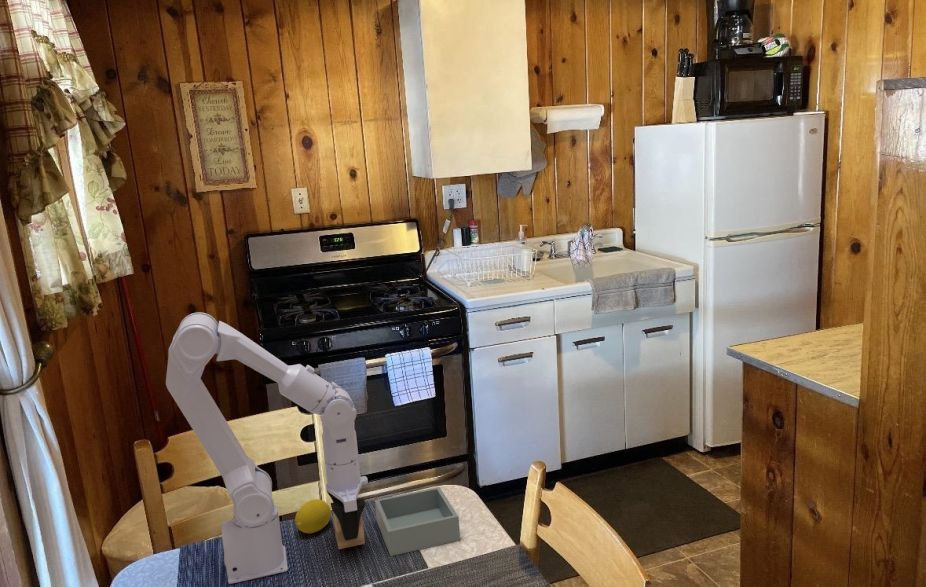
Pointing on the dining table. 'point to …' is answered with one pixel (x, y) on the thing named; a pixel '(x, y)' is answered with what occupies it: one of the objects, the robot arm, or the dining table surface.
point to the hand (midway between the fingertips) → (349, 531)
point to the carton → (340, 538)
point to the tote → (417, 521)
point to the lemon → (313, 516)
